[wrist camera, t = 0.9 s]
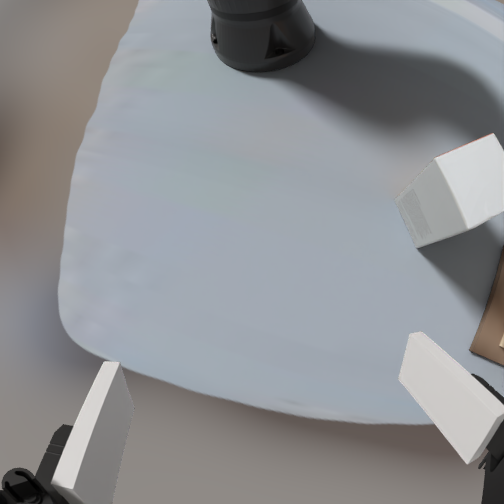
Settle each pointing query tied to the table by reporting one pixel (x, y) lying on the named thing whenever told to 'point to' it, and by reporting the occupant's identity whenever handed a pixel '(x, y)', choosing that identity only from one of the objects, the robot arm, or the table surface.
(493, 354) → the wooden tray with block
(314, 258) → the table surface
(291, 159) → the table surface
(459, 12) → the table surface
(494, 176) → the small box
